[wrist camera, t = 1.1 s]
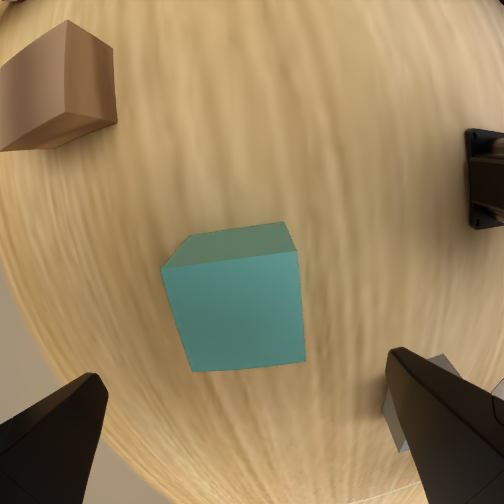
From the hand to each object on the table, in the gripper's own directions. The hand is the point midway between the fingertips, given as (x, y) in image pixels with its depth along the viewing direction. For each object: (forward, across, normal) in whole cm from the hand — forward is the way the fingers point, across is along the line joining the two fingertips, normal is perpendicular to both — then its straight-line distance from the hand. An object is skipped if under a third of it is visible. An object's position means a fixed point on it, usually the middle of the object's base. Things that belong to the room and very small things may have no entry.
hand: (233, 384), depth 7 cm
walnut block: (+8, +8, -12) cm, 17 cm away
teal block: (+9, 0, 0) cm, 9 cm away
